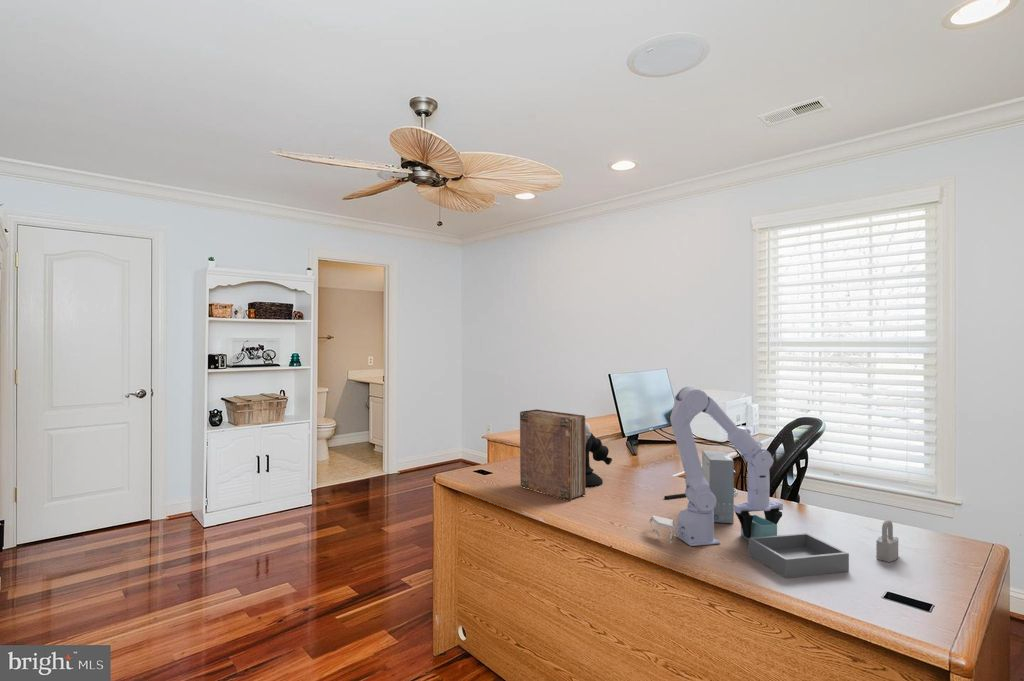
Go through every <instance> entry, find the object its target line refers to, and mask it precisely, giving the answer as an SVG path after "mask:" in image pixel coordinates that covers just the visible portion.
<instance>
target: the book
mask: <svg viewBox="0 0 1024 681" xmlns="http://www.w3.org/2000/svg"><path fill="white" fill-rule="evenodd" d="M585 422H586V415H585V414H584V415H583V414H576V413H569V412H560V411H551V410H545V409H544V410H543V409H530V410H523V411H520V412H519V441H520V443H519V444H520V445H519V451H520V452H519V455H520V456H519V459H520V460H519V462H520V463H519V464H520V465H519V466H520V472H519V473H520V478H519V479H520V487H521V486H522V487H525V488H529V489H532V490H536V491H539V492H542V493H545V494H544V495H546V494H548V495H547V496H549V495H551V497H553V496H555V497H554V498H556V497H558V498H557V499H559V498H561V499H560V500H563V499H565V500H564V501H566V500H568V501H567V502H571V501H572V499H575V498H579V497H582V496H581V495H585V496H586V487H585ZM522 487H521V488H522ZM525 488H524V489H525ZM529 489H528V490H529ZM532 490H531V491H532ZM539 492H538V493H539ZM542 493H541V494H542Z"/></svg>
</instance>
